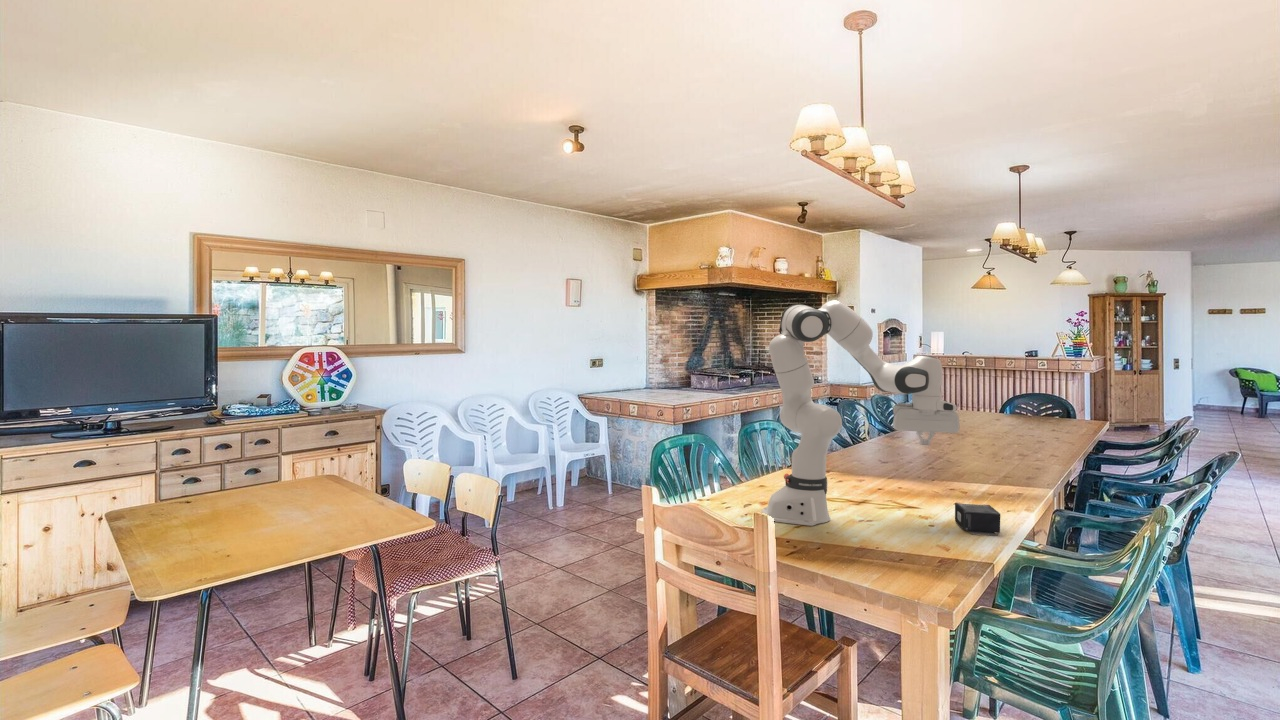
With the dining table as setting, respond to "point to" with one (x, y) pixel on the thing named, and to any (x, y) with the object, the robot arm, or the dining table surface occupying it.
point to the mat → (983, 533)
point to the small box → (977, 517)
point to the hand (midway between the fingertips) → (924, 445)
